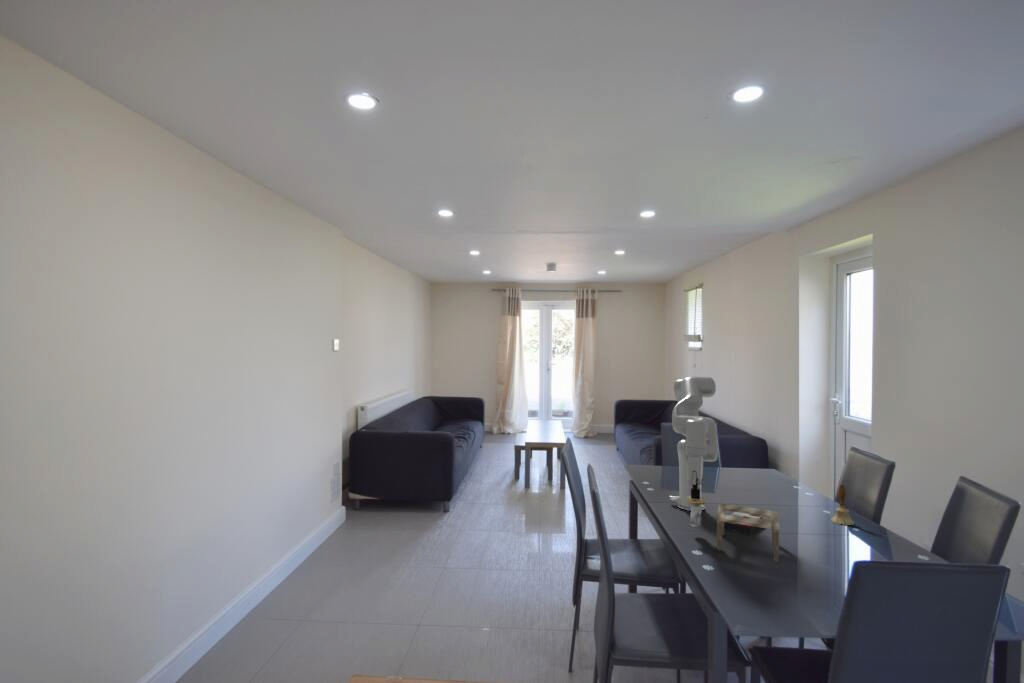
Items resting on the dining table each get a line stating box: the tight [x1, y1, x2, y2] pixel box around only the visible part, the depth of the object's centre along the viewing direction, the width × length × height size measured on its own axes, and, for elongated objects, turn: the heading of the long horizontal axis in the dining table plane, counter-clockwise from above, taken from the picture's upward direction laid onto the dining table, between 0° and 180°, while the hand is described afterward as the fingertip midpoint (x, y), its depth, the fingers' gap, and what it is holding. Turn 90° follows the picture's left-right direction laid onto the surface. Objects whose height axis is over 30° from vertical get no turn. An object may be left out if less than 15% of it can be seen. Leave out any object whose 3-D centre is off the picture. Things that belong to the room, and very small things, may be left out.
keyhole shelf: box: [715, 502, 781, 563], centre depth 172 cm, size 20×18×12 cm
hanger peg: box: [687, 482, 707, 527], centre depth 183 cm, size 7×7×16 cm
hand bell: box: [830, 483, 855, 526], centre depth 198 cm, size 8×8×16 cm
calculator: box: [724, 512, 763, 536], centre depth 192 cm, size 11×4×15 cm
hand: (695, 496), depth 183 cm, fingers closed on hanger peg, 3 cm apart
